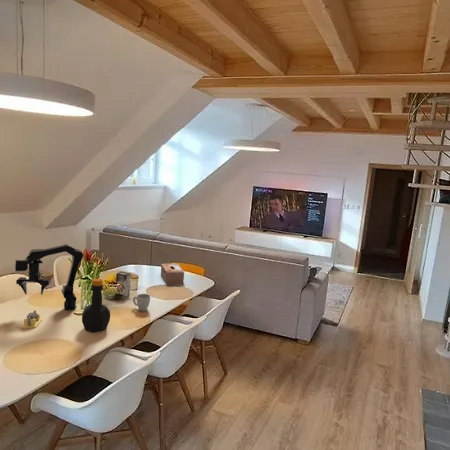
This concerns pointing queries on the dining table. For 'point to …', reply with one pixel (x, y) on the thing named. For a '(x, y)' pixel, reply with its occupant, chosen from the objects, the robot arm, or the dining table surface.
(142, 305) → the mug
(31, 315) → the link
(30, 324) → the keeper
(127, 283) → the coffee box
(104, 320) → the bottle
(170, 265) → the tissue box cover
